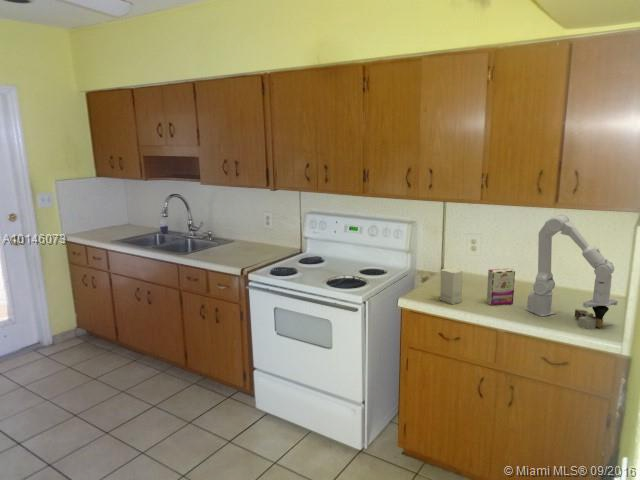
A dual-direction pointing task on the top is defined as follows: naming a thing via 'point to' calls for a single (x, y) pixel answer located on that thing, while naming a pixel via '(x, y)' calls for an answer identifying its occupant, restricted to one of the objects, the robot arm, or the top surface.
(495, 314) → the top surface
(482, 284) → the top surface
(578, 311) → the gate
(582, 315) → the gate posts
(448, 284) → the skincare box
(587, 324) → the doorstop block
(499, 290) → the candy bar box
